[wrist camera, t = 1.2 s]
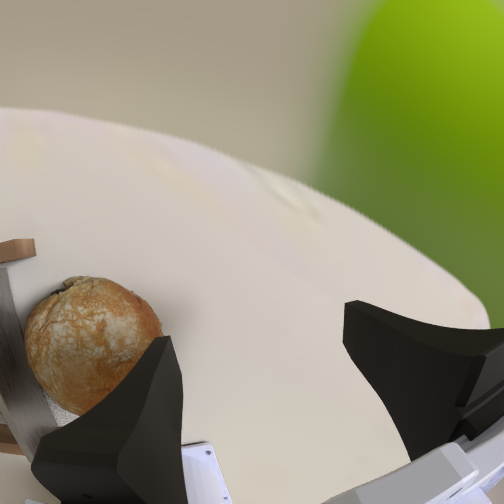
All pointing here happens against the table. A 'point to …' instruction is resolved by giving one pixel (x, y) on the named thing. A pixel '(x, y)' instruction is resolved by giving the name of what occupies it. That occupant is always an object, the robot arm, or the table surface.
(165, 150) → the table surface
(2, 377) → the pusher plate
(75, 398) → the bread roll
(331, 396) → the table surface
